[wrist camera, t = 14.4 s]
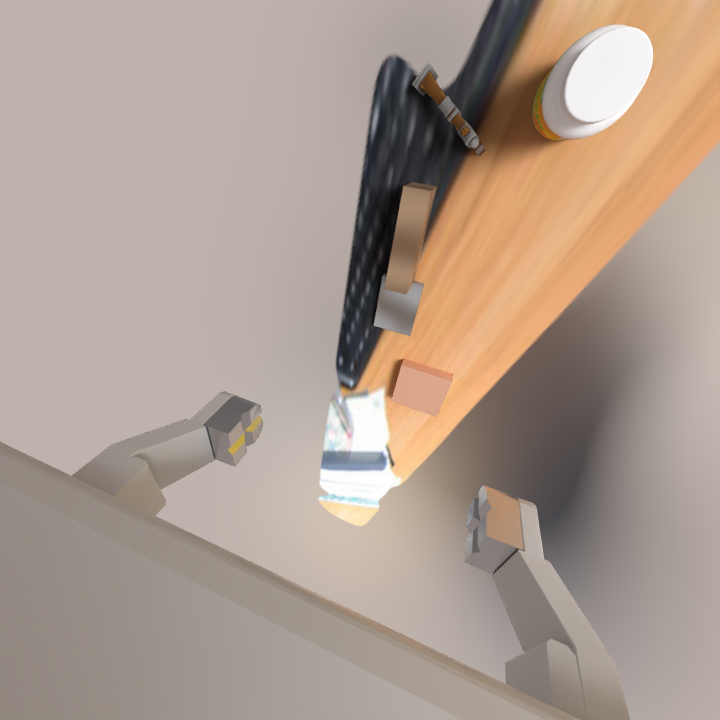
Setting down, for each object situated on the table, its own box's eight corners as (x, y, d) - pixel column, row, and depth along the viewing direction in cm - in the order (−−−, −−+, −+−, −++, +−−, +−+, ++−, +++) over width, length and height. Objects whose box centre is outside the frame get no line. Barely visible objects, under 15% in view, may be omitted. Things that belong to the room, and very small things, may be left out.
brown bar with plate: (401, 180, 31) (390, 183, 28) (449, 188, 30) (444, 193, 27) (375, 323, 42) (365, 338, 38) (411, 333, 41) (403, 350, 37)
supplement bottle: (534, 67, 24) (556, 29, 17) (619, 41, 22) (687, -16, 15) (528, 148, 27) (544, 147, 19) (603, 132, 25) (654, 123, 17)
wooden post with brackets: (479, 169, 28) (464, 152, 25) (431, 107, 29) (410, 82, 26) (497, 151, 27) (484, 131, 23) (446, 87, 28) (427, 59, 25)
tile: (401, 365, 42) (391, 401, 46) (451, 381, 41) (436, 416, 45) (404, 357, 43) (394, 392, 48) (453, 372, 42) (438, 407, 46)
